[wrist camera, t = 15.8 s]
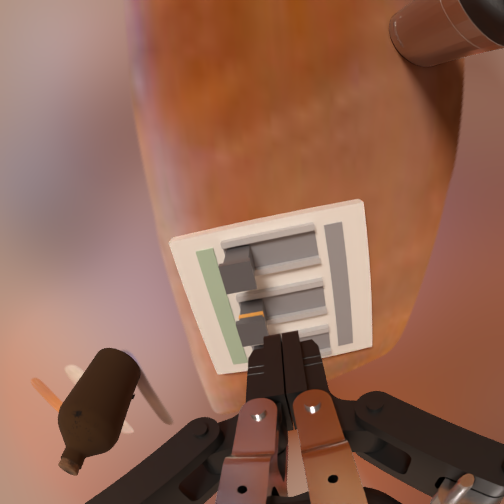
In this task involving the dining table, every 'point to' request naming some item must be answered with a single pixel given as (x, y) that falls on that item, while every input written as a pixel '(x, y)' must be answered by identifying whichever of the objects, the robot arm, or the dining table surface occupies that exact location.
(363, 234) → the switch board
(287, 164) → the dining table surface
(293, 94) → the dining table surface
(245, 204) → the dining table surface
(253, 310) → the breaker handle
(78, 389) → the olive oil
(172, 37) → the dining table surface
